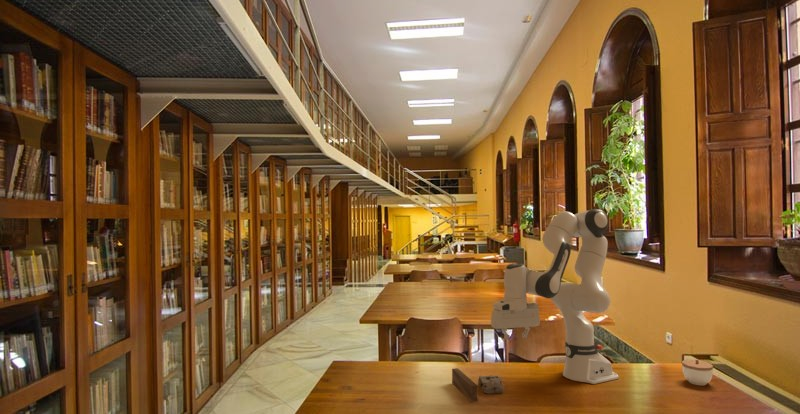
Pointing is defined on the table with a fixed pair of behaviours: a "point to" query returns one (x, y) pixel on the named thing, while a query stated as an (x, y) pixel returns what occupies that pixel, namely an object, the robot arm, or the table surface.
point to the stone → (491, 384)
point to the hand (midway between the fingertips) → (515, 338)
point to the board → (464, 385)
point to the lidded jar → (697, 371)
